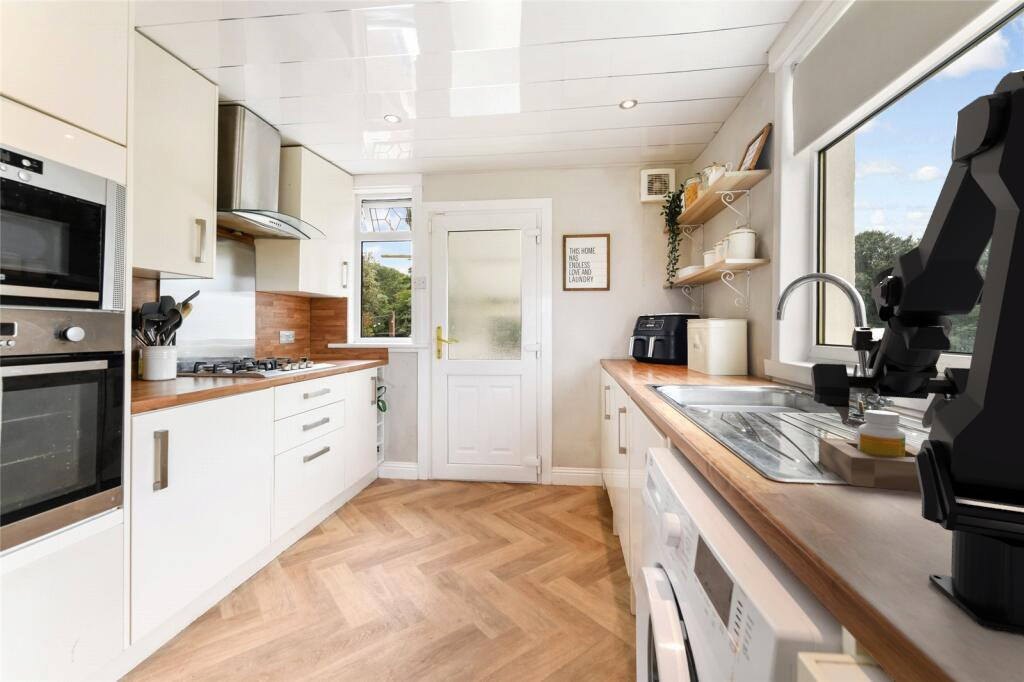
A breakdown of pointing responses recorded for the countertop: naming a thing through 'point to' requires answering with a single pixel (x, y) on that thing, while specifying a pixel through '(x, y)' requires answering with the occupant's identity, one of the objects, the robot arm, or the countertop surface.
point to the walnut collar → (870, 465)
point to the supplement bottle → (881, 434)
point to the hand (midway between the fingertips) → (882, 421)
